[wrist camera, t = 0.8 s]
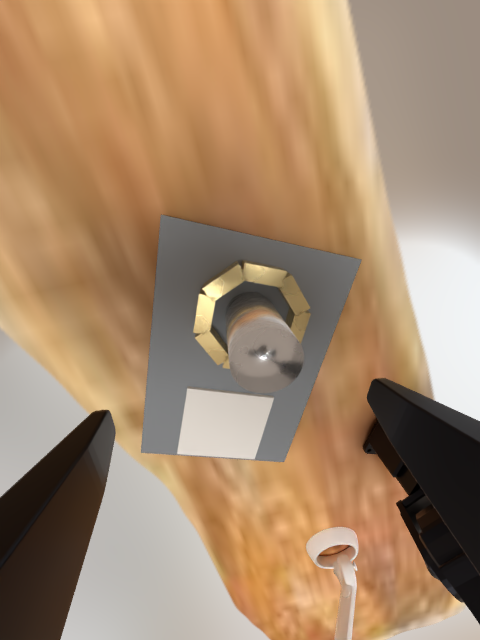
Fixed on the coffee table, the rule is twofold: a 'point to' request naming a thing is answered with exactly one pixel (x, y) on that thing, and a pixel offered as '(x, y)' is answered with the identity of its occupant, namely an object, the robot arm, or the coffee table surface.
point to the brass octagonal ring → (230, 280)
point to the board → (179, 318)
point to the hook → (339, 571)
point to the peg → (261, 345)
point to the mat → (223, 423)
